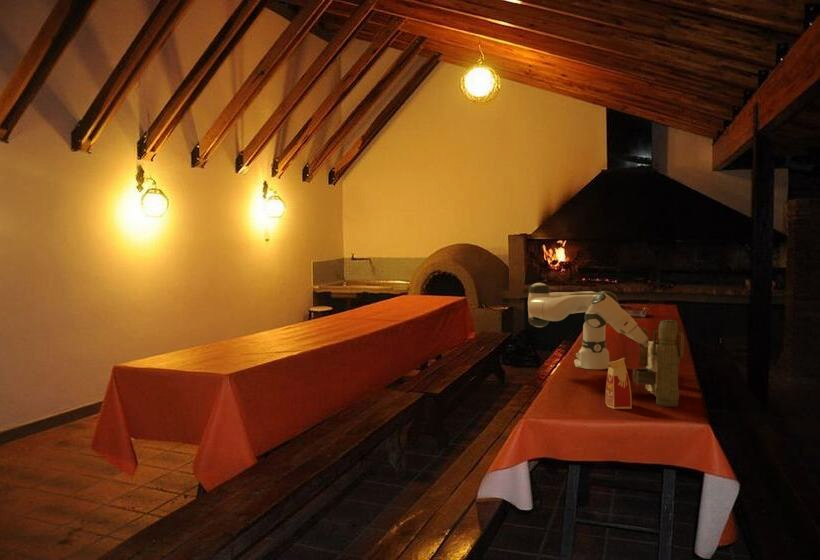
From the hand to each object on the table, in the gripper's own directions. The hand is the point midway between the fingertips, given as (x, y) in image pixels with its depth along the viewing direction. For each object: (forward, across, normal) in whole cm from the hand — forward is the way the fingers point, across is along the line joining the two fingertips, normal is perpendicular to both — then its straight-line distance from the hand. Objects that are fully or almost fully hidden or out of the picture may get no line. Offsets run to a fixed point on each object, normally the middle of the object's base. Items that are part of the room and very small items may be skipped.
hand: (645, 345), depth 279 cm
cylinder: (+6, 0, -7) cm, 9 cm away
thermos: (+18, +16, -13) cm, 27 cm away
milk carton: (+3, +17, -28) cm, 33 cm away
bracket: (+15, 0, -16) cm, 22 cm away
